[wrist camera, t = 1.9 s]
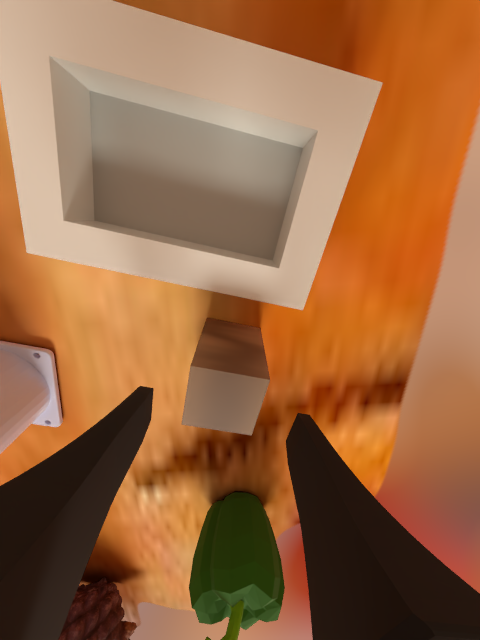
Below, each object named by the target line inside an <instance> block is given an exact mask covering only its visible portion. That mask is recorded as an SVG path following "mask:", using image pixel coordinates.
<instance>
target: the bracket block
mask: <svg viewBox="0 0 480 640" xmlns="http://www.w3.org/2000/svg"><path fill="white" fill-rule="evenodd" d="M269 381H270V377H269V372H268V366H267V361H266V356H265V350H264V345H263V340H262V334H261V329H260V328H257V327H252V326H247V325H242V324H237V323H232V322H227V321H222V320H217V319H212V318H207V319H206V322H205V325H204V328H203V331H202V334H201V337H200V340H199V343H198V346H197V349H196V352H195V354H194V357H193V360H192V363H191V367H190V373H189V380H188V386H187V393H186V399H185V405H184V412H183V418H182V425H188V426H195V427H201V428H207V429H214V430H220V431H227V432H233V433H240V434H246V435H252V432H253V429H254V426H255V423H256V420H257V417H258V414H259V411H260V408H261V405H262V402H263V399H264V396H265V393H266V390H267V387H268V384H269Z"/></svg>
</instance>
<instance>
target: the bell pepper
mask: <svg viewBox="0 0 480 640" xmlns="http://www.w3.org/2000/svg"><path fill="white" fill-rule="evenodd" d="M284 588H285V587H284V580H283V572H282V565H281V558H280V555H279V551H278V548H277V544H276V540H275V537H274V533H273V530H272V527H271V524H270V521H269V518H268V517H267V514H266V511H265V510H264V508H263V506H262V504H261V502H260V501H259V499H258V497H256V496H254V495H251V494H249V493H241V492H234V493H232V494H230V495H228V496H226V497H225V499H224V501H217V502H215V503H214V504H213V505H212V506H211V508H210V509H209V511H208V512H207V515H206V518H205V521H204V524H203V527H202V530H201V533H200V537H199V540H198V543H197V547H196V550H195V554H194V558H193V564H192V571H191V578H190V584H189V590H190V597H191V604H192V608H193V609H195V611H196V614H197V617H198V620H199V622H200V623H205V624H214V623H217V622H220V621H222V620H223V619H224V618H226V617H229V618H230V619H229V623H228V627H227V632H226V635H225V636H224V637H223V638H222V639H221V640H237V639H238V635H239V630H240V627H241V628H243V629H245V630H246V629H248V628H249V627H250V626H252V625H253V624H254V623H256V622H257V621H258V620H262V621H264V622H269V621H275V620H278V616H279V613H280V610H281V606H282V600H283V594H284ZM205 640H211V639H210V638H208V637H206V639H205Z"/></svg>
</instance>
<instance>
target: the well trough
mask: <svg viewBox="0 0 480 640" xmlns="http://www.w3.org/2000/svg"><path fill="white" fill-rule="evenodd" d="M0 83H1V90H2V96H3V103H4V109H5V116H6V122H7V128H8V135H9V141H10V148H11V154H12V161H13V167H14V174H15V180H16V187H17V193H18V200H19V206H20V212H21V219H22V225H23V232H24V238H25V245H26V251H27V253H30V254H35V255H39V256H44V257H49V258H54V259H59V260H64V261H68V262H73V263H78V264H83V265H88V266H93V267H97V268H102V269H107V270H112V271H117V272H121V273H126V274H131V275H136V276H141V277H146V278H150V279H155V280H160V281H165V282H170V283H175V284H179V285H184V286H189V287H194V288H199V289H203V290H208V291H213V292H218V293H223V294H228V295H232V296H237V297H242V298H247V299H252V300H256V301H261V302H266V303H271V304H276V305H281V306H285V307H290V308H295V309H300V310H303V308H304V306H305V303H306V300H307V297H308V294H309V291H310V289H311V286H312V283H313V280H314V277H315V274H316V271H317V269H318V266H319V263H320V260H321V257H322V254H323V251H324V249H325V246H326V243H327V240H328V237H329V234H330V232H331V229H332V226H333V223H334V220H335V217H336V214H337V212H338V209H339V206H340V203H341V200H342V197H343V195H344V192H345V189H346V186H347V183H348V180H349V177H350V175H351V172H352V169H353V166H354V163H355V160H356V157H357V155H358V152H359V149H360V146H361V143H362V140H363V138H364V135H365V132H366V129H367V126H368V123H369V120H370V118H371V115H372V112H373V109H374V106H375V103H376V101H377V98H378V95H379V92H380V89H381V86H382V82H379V81H376V80H372V79H369V78H366V77H362V76H359V75H356V74H353V73H349V72H346V71H343V70H339V69H336V68H333V67H330V66H326V65H323V64H320V63H316V62H313V61H310V60H307V59H303V58H300V57H297V56H293V55H290V54H287V53H284V52H280V51H277V50H274V49H270V48H267V47H264V46H261V45H257V44H254V43H251V42H247V41H244V40H241V39H238V38H234V37H231V36H228V35H225V34H221V33H218V32H215V31H211V30H208V29H205V28H202V27H198V26H195V25H192V24H188V23H185V22H182V21H179V20H175V19H172V18H169V17H165V16H162V15H159V14H156V13H152V12H149V11H146V10H142V9H139V8H136V7H133V6H129V5H126V4H123V3H119V2H116V1H113V0H0Z"/></svg>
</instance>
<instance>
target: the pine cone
mask: <svg viewBox="0 0 480 640" xmlns="http://www.w3.org/2000/svg"><path fill="white" fill-rule="evenodd" d="M121 603H122V598H121V596H120V595H119V590H117V586H116V585H115V584H114V583H111V584H110V583H109V582H107V580H106V578H105V577H103V578H102V579H101V580H100V581H99V582H97V581H96V582H94V583H92V584H88V585H86V586H85V585H84V584H83V585H81V586H79V587H78V589H77V591H76V594H75V597H74V599H73V602H72V604H71V607H70V610H69V612H68V615H67V618H66V621H65V623H64V626H63V629H62V631H61V634H60V637H59V639H58V640H130V639H129V637H130V636H131V635H132V634H133V633H134V630H135V629H136V627H137V626H136V623H134V622H132V623H131V622H127V621H121V620H122V618H123V617H124V609H123V608H122V607H121Z"/></svg>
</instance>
